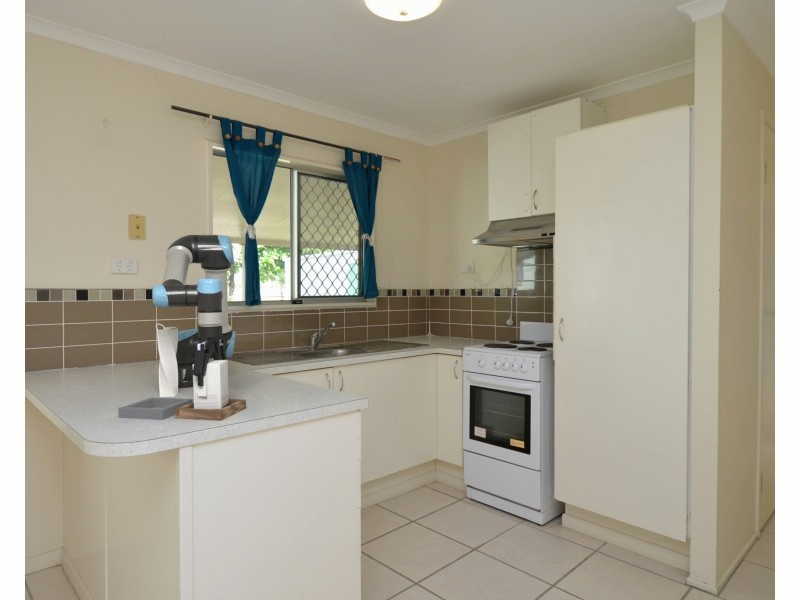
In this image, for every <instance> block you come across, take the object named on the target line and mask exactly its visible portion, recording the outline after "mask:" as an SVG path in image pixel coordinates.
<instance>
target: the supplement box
mask: <svg viewBox="0 0 800 600" xmlns="http://www.w3.org/2000/svg"><path fill="white" fill-rule="evenodd" d="M228 362H229V361H228V359H227V360H214V359H212V360H210V359H209V362H208V364H207V369H206V372H205V376H207V396H198V380H197V376H194V375H193V386H192V387H193V402H194V409H222V408H223V407H224V406H226V405H227V404H228V403H229V399H230V397H229V396H230V395H229V394H230V393H229V392H230V391H229V390H230V389H229V363H228ZM193 367H194V364H193Z"/></svg>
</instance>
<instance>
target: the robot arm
mask: <svg viewBox="0 0 800 600" xmlns="http://www.w3.org/2000/svg"><path fill="white" fill-rule="evenodd" d="M233 250H234V249H233V243H232V239H231V238H230V236H228V235H222V234H188V235H187V234H186V235H183V236H181V237H179V238H178V239H176V240H174V241H173V242H172V243H171V244H170V245H169V246H168V248H167V250H166V254H165V258H166V266H165V270H164V273H163V277H162V282H161V284H156V285H153V287H152V290H151V291H152V295H151V296H152V304H153V305H154V306H155V307H157V308H158V307H159V308H177V307H179V308H180V307H181V308H182V307H197V324H198V325H199V326H198V327H197V328H192V329H184V330H178V343H177V352H176V360H177V367H178V388H190V387H193V375H194V376H197V380H198V396H207V376H205V372H206V369H207V364H208V362H209V360H210V359H212V360H228V358H231V357H232V356H233V355H234V351H235V344H236V343H235V342H236V331H235V330H233V327H232V326H231V325H230V324H229V307H228V306H229V304H228V303H229V302H228V300H229V297H228V271H229V270H230V269H231V267H232V265H233V264H234V263H235V257H234V251H233ZM191 264H200V268H201V269H202V270H203V271H204V274H205V275H204V276H205V277H204V278H199V279H198V280H197V284H186V283H187V277H188V270H189V266H190V265H191ZM193 364H194V367H193Z"/></svg>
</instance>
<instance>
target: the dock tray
mask: <svg viewBox="0 0 800 600" xmlns="http://www.w3.org/2000/svg"><path fill="white" fill-rule="evenodd" d="M245 409H247V399H237V398H229V403H228V404H227V405H226V406H224V407H223V408H222V409H194V401H193V402H192V403H189V404H187V405H184V406H182V407H179V408H176V409H175V415H174V417H175V419H178V418H183V420H184V419H185V420H199V419H204V420H203V421H223V420H225V419H227V418H229V417H232V416H233V415H235V414H237V413H239V412H240V413H241V411H243V410H245Z"/></svg>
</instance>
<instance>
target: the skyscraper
mask: <svg viewBox="0 0 800 600" xmlns="http://www.w3.org/2000/svg"><path fill="white" fill-rule="evenodd" d="M158 326H161V327H163V329H158ZM155 329H156V339H157V349H158V355H159V364H158V387H159V389H158V390H159V398H174V397H176V396H177V395H178V394H179V387H178V367H177V360H176V352H177V343H178V331H179V329H178V327H175V326H165V325H164V324H161V323H156V324H155Z"/></svg>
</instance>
